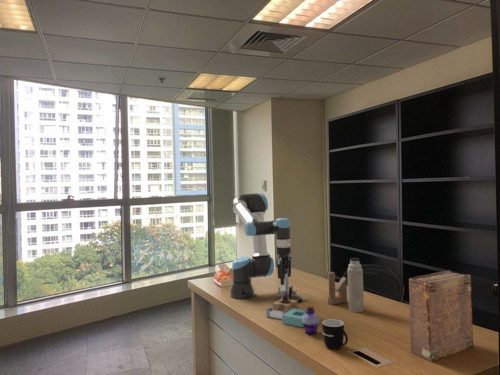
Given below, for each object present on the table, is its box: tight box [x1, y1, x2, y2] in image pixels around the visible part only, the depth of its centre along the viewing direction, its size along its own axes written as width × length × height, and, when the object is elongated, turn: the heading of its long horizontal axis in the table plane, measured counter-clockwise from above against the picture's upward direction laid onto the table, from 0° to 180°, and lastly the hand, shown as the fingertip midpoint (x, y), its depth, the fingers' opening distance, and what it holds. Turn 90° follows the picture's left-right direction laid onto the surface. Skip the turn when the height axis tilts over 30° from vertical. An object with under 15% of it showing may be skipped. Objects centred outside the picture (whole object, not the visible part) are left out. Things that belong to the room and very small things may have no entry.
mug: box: [321, 318, 349, 350], centre depth 158 cm, size 12×9×10 cm
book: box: [408, 269, 474, 362], centre depth 152 cm, size 25×9×30 cm, turn 116°
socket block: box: [281, 308, 315, 328], centre depth 189 cm, size 12×12×4 cm
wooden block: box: [327, 271, 348, 306], centre depth 216 cm, size 4×11×18 cm, turn 111°
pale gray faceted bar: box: [265, 307, 286, 320], centre depth 195 cm, size 14×4×4 cm, turn 57°
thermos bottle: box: [347, 257, 365, 313], centre depth 203 cm, size 8×8×28 cm
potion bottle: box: [302, 305, 320, 336], centre depth 175 cm, size 9×9×12 cm
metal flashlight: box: [281, 268, 290, 301], centre depth 205 cm, size 4×4×17 cm
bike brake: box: [276, 284, 308, 303], centre depth 223 cm, size 14×7×20 cm
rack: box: [272, 297, 299, 313], centre depth 205 cm, size 10×10×5 cm
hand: (285, 289), depth 205 cm, fingers closed on metal flashlight, 3 cm apart
